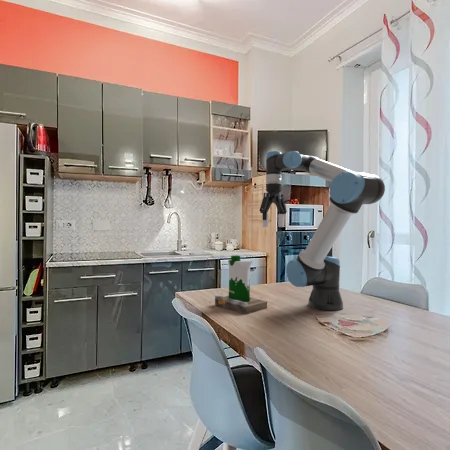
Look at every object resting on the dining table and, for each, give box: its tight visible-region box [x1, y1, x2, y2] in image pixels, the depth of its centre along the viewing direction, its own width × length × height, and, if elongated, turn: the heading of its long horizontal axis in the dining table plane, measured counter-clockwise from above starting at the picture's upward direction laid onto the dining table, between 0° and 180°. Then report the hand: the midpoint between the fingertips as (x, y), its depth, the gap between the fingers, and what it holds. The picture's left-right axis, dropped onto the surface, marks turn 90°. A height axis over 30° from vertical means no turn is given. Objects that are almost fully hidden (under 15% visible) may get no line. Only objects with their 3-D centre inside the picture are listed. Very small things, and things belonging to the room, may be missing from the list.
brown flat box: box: [214, 294, 268, 315], centre depth 147 cm, size 19×15×4 cm
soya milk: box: [227, 255, 252, 302], centre depth 146 cm, size 9×9×20 cm
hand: (273, 227), depth 161 cm, fingers open, 13 cm apart
